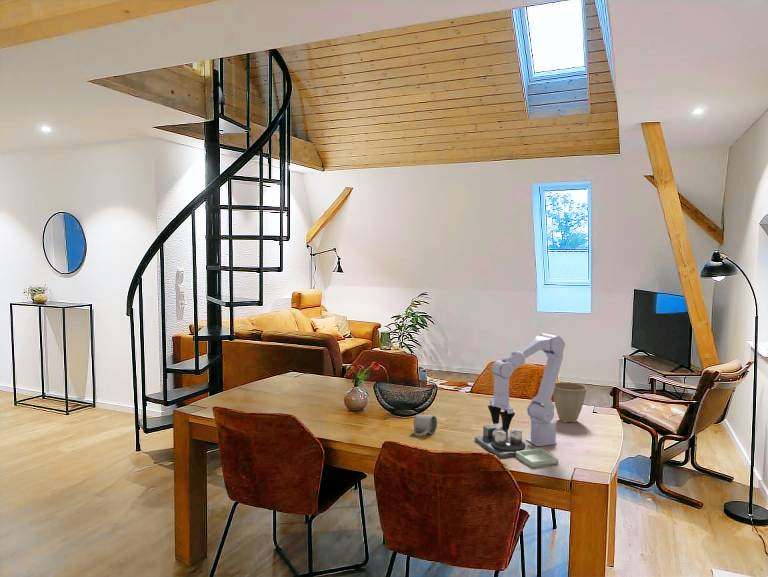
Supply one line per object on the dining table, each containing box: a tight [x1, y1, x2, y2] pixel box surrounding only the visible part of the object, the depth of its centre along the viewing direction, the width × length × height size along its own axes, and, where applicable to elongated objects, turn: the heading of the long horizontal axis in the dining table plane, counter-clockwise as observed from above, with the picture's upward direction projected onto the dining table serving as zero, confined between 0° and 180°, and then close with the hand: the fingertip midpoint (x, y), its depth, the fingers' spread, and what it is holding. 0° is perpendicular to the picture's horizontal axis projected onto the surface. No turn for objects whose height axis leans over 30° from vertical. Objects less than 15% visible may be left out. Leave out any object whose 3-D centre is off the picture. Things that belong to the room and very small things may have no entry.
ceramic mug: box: [413, 414, 438, 438], centre depth 241 cm, size 11×8×8 cm
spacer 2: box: [510, 428, 523, 444], centre depth 224 cm, size 4×4×5 cm
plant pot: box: [552, 381, 587, 423], centre depth 259 cm, size 15×15×16 cm
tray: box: [515, 447, 559, 468], centre depth 212 cm, size 11×11×2 cm
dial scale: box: [474, 423, 536, 459], centre depth 226 cm, size 16×20×6 cm
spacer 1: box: [495, 431, 506, 446], centre depth 222 cm, size 4×4×5 cm
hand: (500, 426), depth 222 cm, fingers open, 7 cm apart
